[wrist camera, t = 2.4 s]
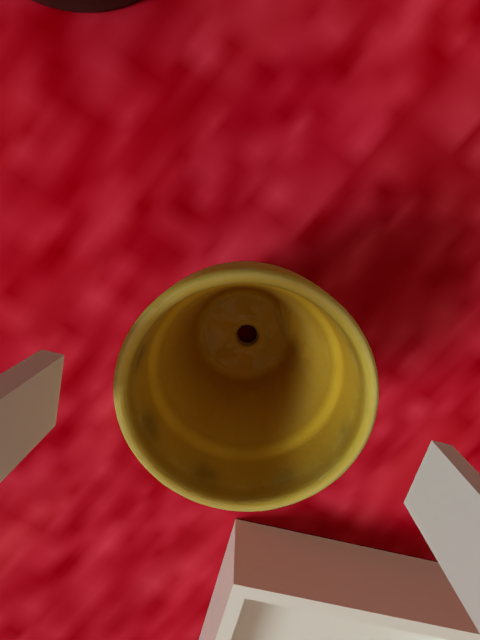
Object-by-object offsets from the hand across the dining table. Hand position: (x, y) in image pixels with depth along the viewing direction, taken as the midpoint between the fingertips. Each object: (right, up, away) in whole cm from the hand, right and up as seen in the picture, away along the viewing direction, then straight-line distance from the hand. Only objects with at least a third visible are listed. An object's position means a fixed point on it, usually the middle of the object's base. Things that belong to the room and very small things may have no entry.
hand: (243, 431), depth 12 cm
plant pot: (0, +3, +11) cm, 11 cm away
